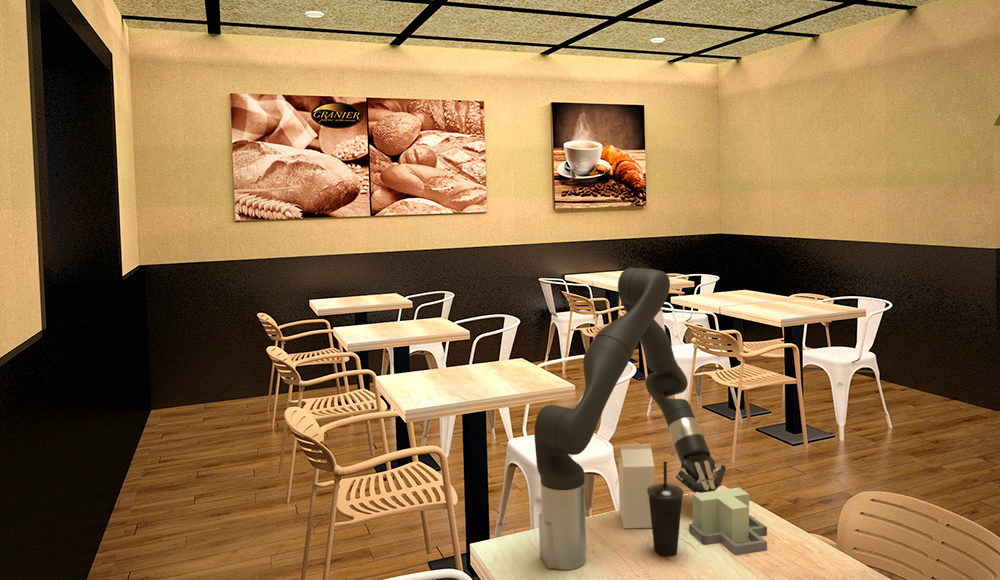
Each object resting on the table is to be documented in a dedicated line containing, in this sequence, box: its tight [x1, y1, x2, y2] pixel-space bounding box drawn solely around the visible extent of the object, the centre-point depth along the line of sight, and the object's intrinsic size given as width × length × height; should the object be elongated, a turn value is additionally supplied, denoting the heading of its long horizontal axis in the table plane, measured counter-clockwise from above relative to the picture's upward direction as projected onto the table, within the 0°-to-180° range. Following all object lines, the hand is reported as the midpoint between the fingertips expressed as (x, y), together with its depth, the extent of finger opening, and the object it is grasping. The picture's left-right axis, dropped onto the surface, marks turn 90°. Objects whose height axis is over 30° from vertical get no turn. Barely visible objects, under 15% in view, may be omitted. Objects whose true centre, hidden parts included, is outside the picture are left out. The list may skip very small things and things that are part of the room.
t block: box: [692, 487, 750, 544], centre depth 161 cm, size 12×10×8 cm
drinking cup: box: [647, 461, 684, 558], centre depth 153 cm, size 8×8×20 cm
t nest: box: [688, 514, 768, 556], centre depth 158 cm, size 16×13×2 cm
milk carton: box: [618, 443, 655, 529], centre depth 167 cm, size 7×7×19 cm
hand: (714, 507), depth 166 cm, fingers closed
